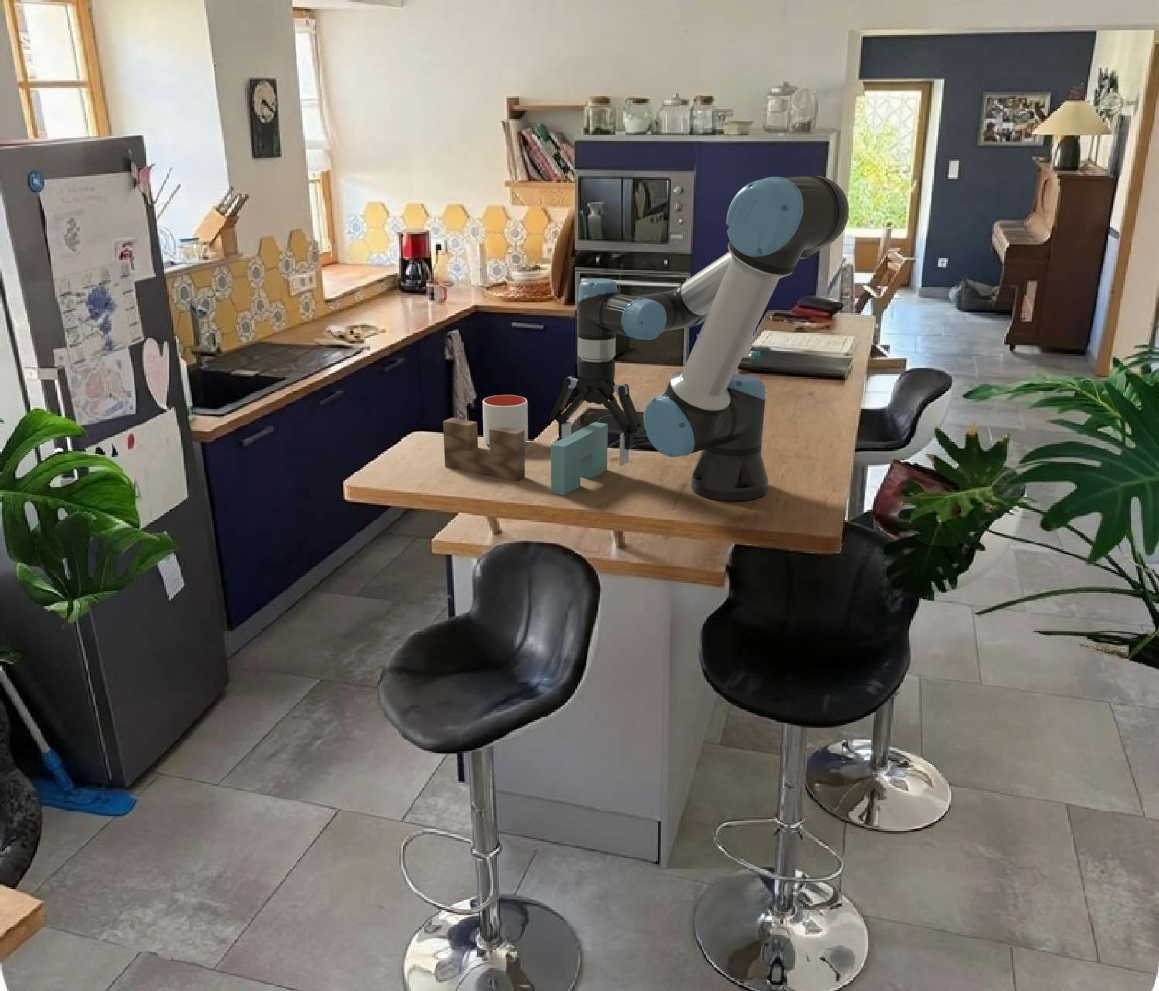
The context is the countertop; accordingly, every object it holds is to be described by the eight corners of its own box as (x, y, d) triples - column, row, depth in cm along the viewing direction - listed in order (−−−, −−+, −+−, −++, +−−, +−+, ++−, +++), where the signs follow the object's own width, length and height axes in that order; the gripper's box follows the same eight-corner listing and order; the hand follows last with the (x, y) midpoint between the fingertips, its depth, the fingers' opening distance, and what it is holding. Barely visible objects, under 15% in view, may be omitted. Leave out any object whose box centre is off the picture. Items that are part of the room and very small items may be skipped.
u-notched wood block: (524, 476, 210) (524, 430, 206) (517, 481, 207) (516, 434, 204) (453, 462, 218) (451, 417, 214) (445, 466, 215) (443, 421, 212)
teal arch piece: (594, 467, 216) (594, 422, 212) (607, 469, 214) (607, 424, 211) (551, 493, 201) (550, 444, 197) (564, 495, 199) (564, 446, 196)
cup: (521, 451, 226) (521, 407, 222) (478, 448, 228) (477, 405, 224) (532, 438, 235) (532, 396, 231) (490, 435, 237) (489, 393, 233)
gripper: (661, 361, 202) (656, 463, 209) (552, 347, 213) (552, 443, 221) (644, 369, 196) (640, 473, 203) (533, 353, 207) (534, 453, 214)
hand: (594, 458), depth 212 cm, fingers open, 13 cm apart
